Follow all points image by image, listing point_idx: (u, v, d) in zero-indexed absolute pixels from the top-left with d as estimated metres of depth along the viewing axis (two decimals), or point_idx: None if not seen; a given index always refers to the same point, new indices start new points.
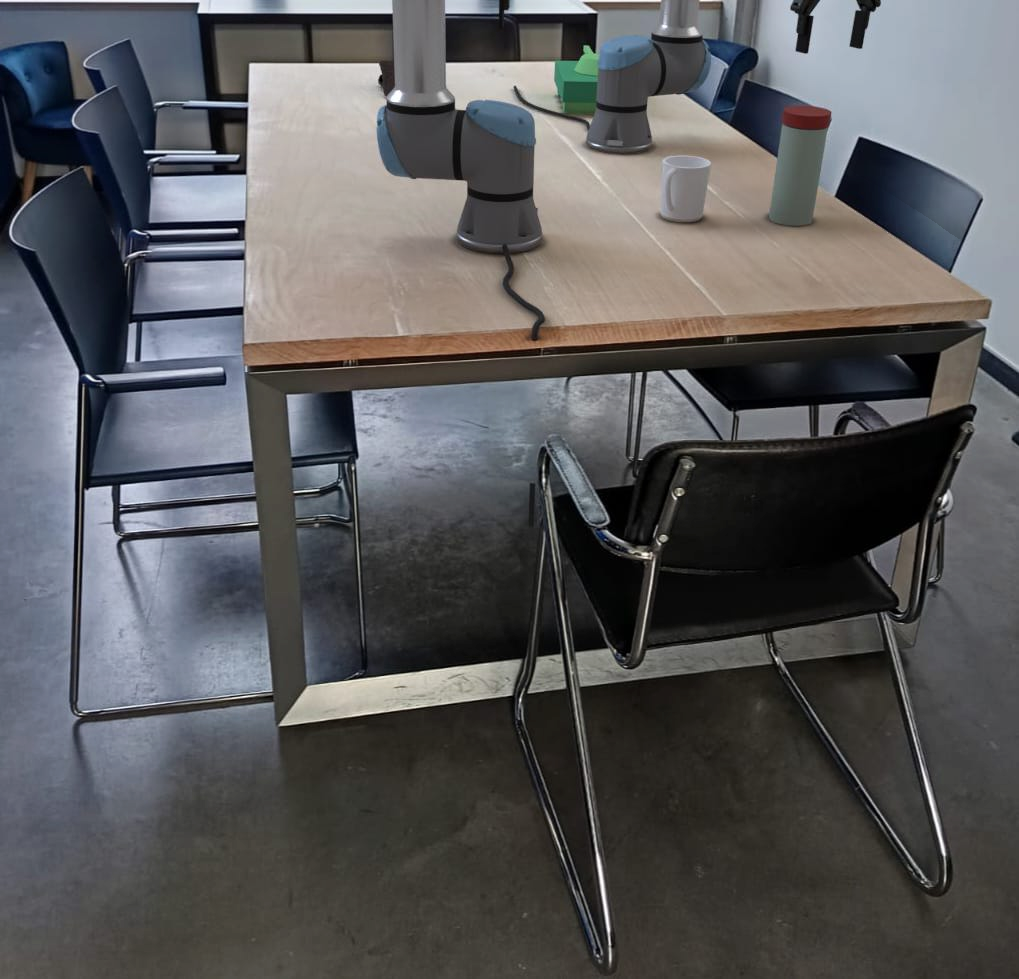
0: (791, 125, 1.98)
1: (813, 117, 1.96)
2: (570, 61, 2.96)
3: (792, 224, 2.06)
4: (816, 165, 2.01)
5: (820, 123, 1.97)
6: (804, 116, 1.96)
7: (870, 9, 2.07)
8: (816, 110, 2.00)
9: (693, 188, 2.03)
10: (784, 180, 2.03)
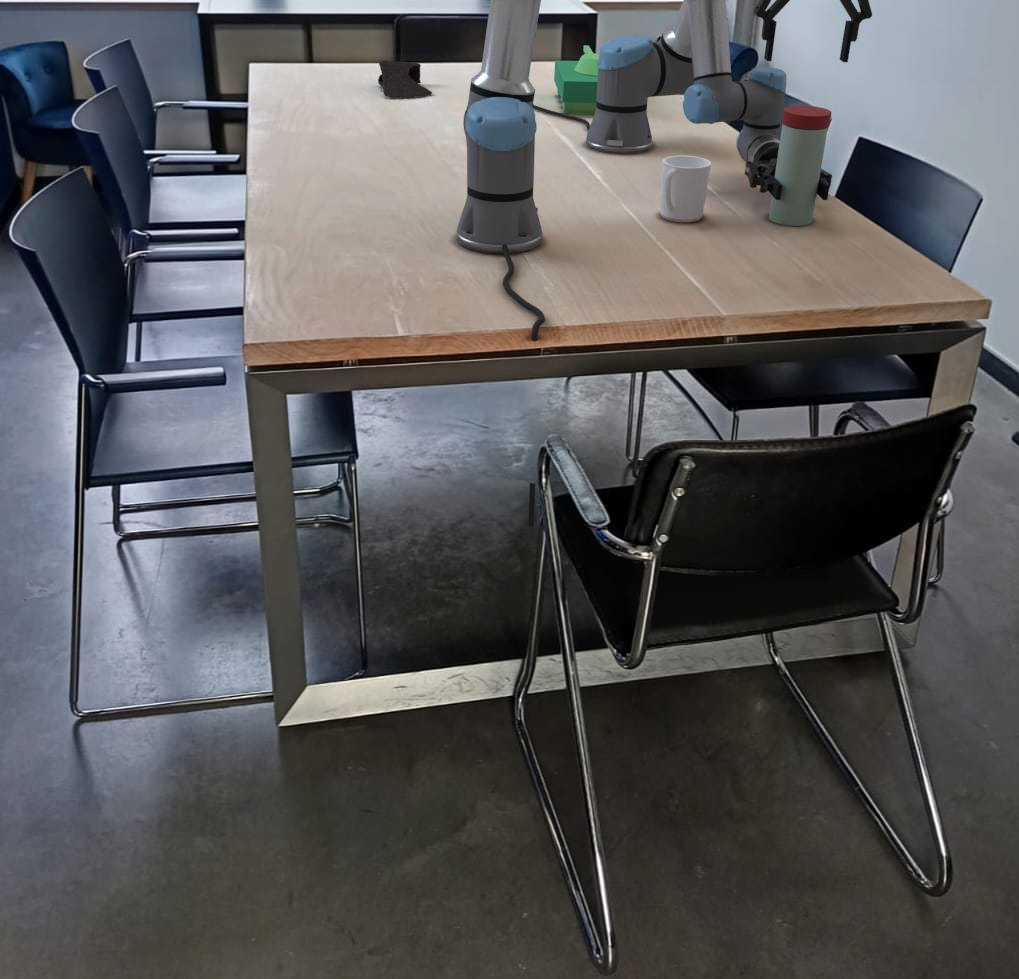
0: (791, 125, 1.98)
1: (813, 117, 1.96)
2: (570, 61, 2.96)
3: (792, 224, 2.06)
4: (816, 165, 2.01)
5: (820, 124, 1.97)
6: (804, 116, 1.96)
7: None
8: (816, 110, 2.00)
9: (693, 188, 2.03)
10: (784, 180, 2.03)
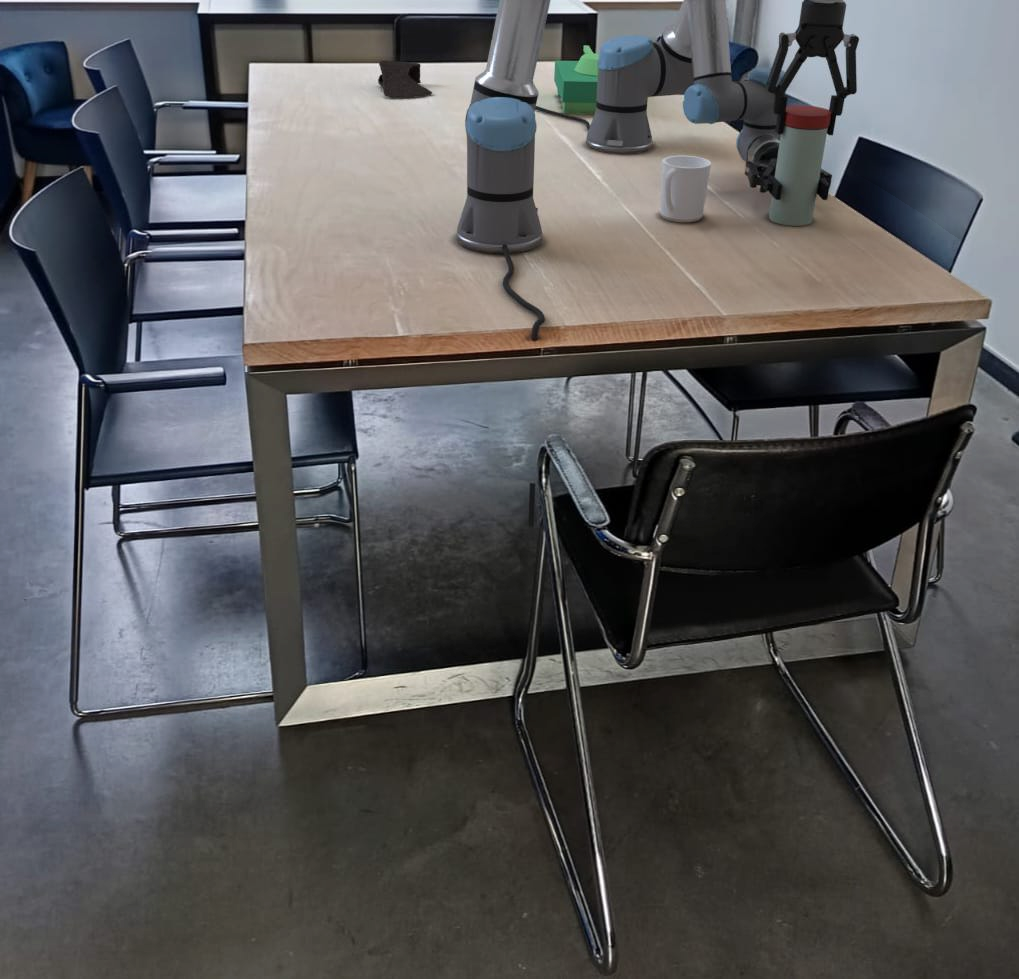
0: (791, 125, 1.98)
1: (813, 117, 1.96)
2: (570, 61, 2.96)
3: (792, 224, 2.06)
4: (816, 165, 2.01)
5: (820, 123, 1.97)
6: (804, 116, 1.96)
7: None
8: (816, 110, 2.00)
9: (693, 188, 2.03)
10: (784, 180, 2.03)
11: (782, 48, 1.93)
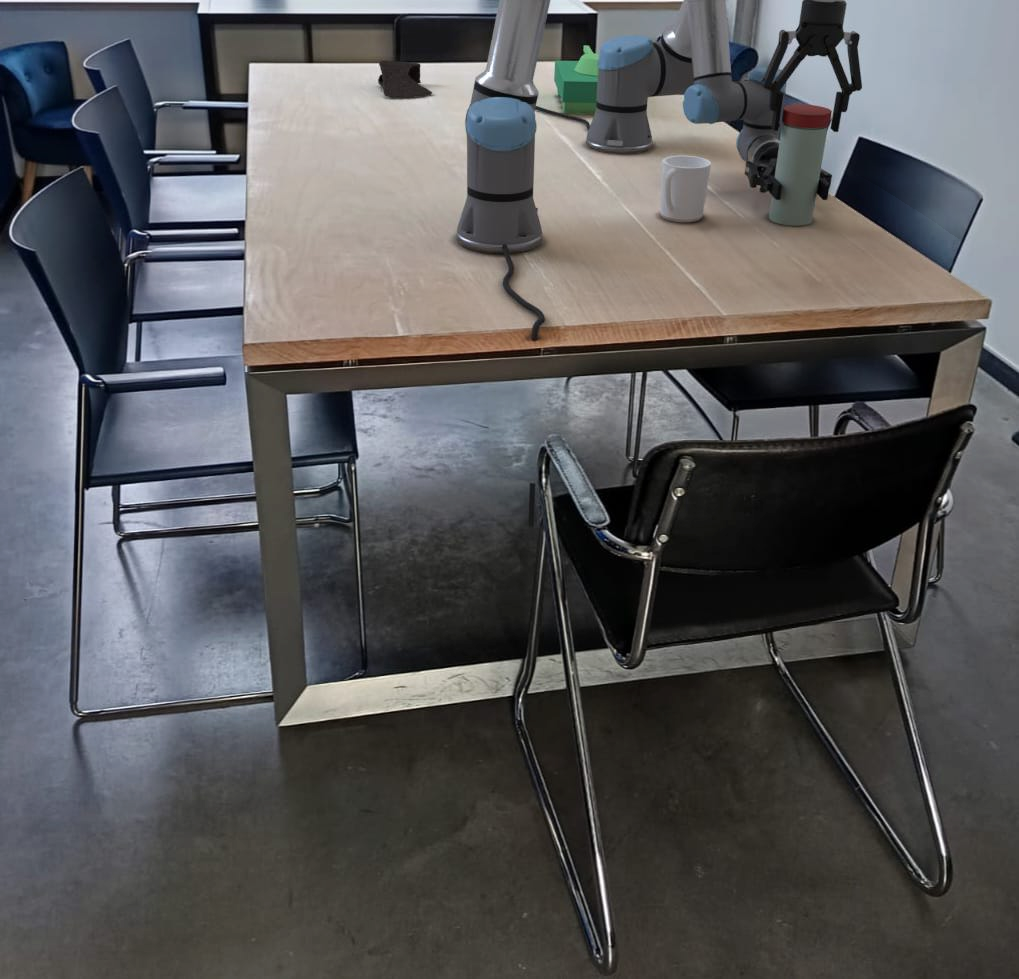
0: (820, 126, 1.97)
1: (831, 112, 1.98)
2: (570, 61, 2.96)
3: (792, 224, 2.06)
4: (816, 165, 2.01)
5: None
6: (829, 114, 1.97)
7: None
8: (806, 107, 2.01)
9: (693, 188, 2.03)
10: (784, 180, 2.03)
11: (782, 45, 1.92)
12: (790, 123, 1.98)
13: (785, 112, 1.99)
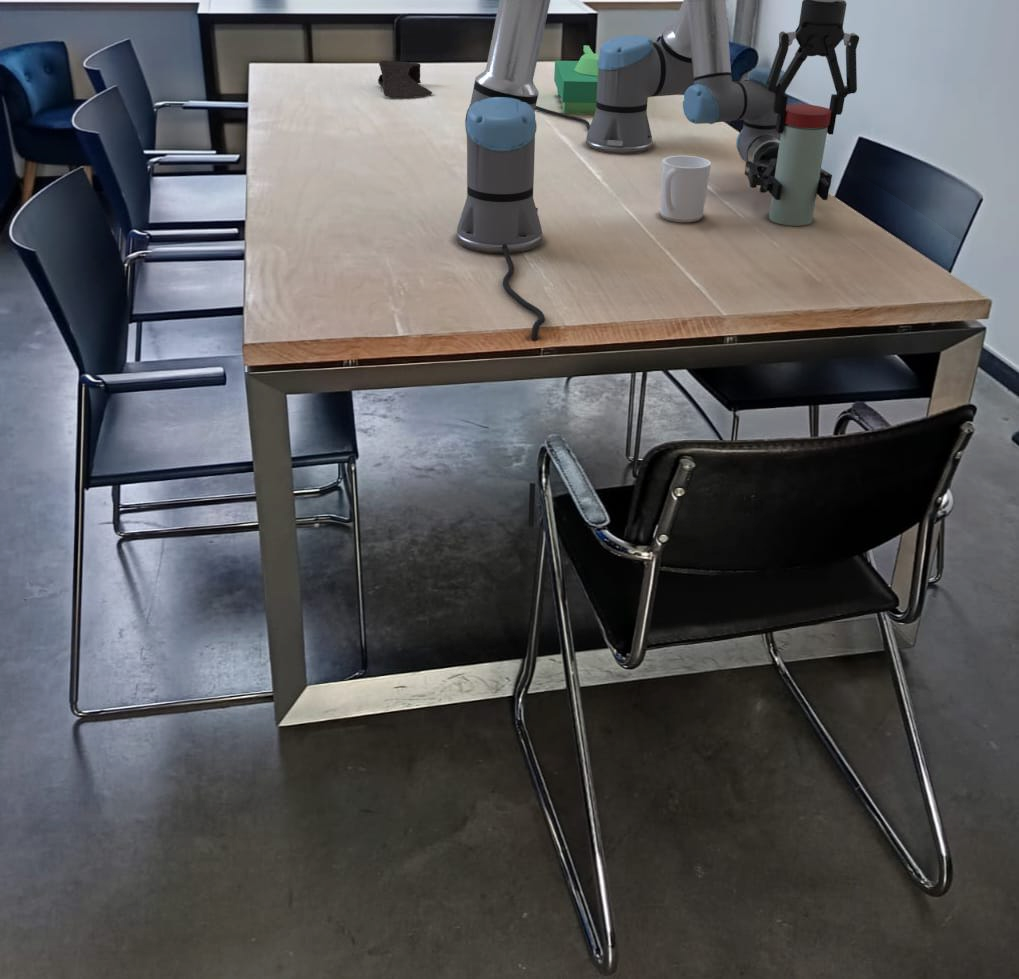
0: (820, 126, 1.97)
1: (831, 112, 1.98)
2: (570, 61, 2.96)
3: (792, 224, 2.06)
4: (816, 165, 2.01)
5: None
6: (829, 114, 1.97)
7: None
8: (806, 107, 2.01)
9: (693, 188, 2.03)
10: (784, 180, 2.03)
11: (782, 47, 1.93)
12: (790, 123, 1.98)
13: (785, 112, 1.99)
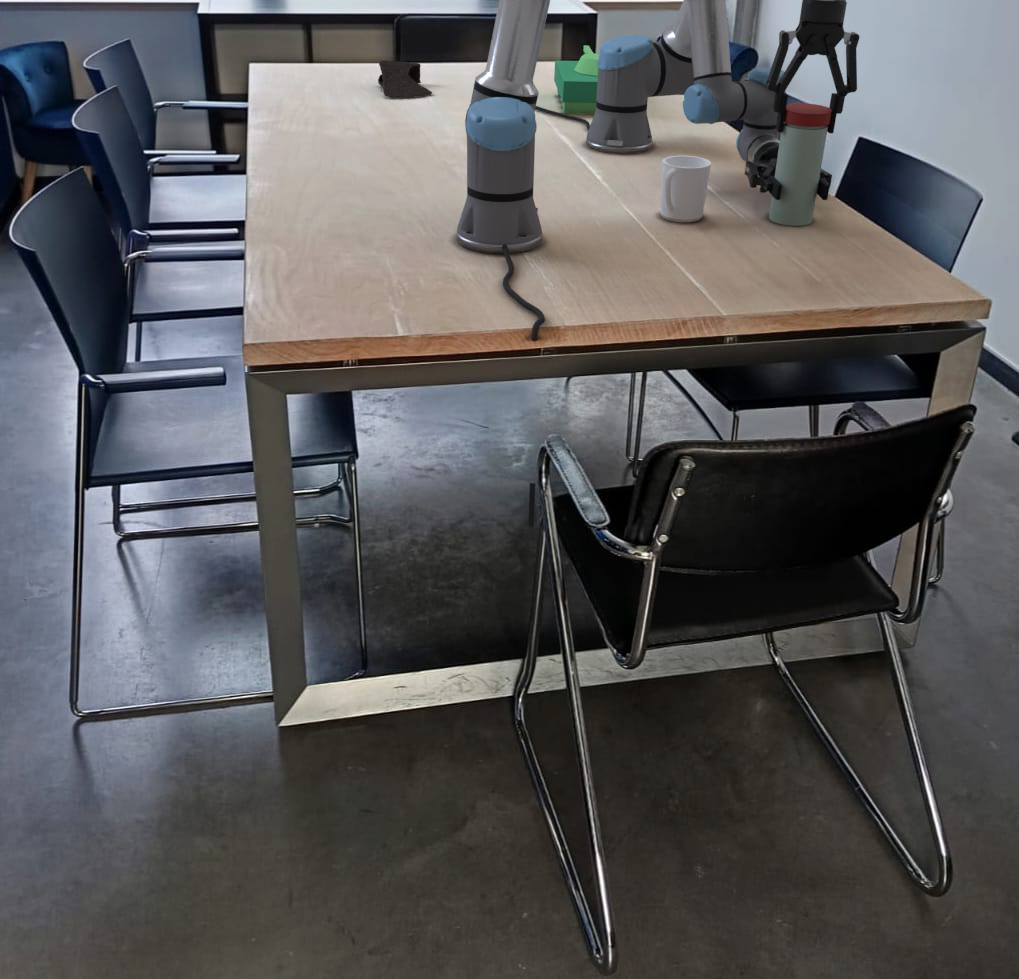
0: None
1: None
2: (570, 61, 2.96)
3: (792, 224, 2.06)
4: (816, 165, 2.01)
5: None
6: None
7: None
8: (797, 107, 2.00)
9: (693, 188, 2.03)
10: (784, 180, 2.03)
11: (782, 46, 1.92)
12: (819, 124, 1.97)
13: (811, 116, 1.96)
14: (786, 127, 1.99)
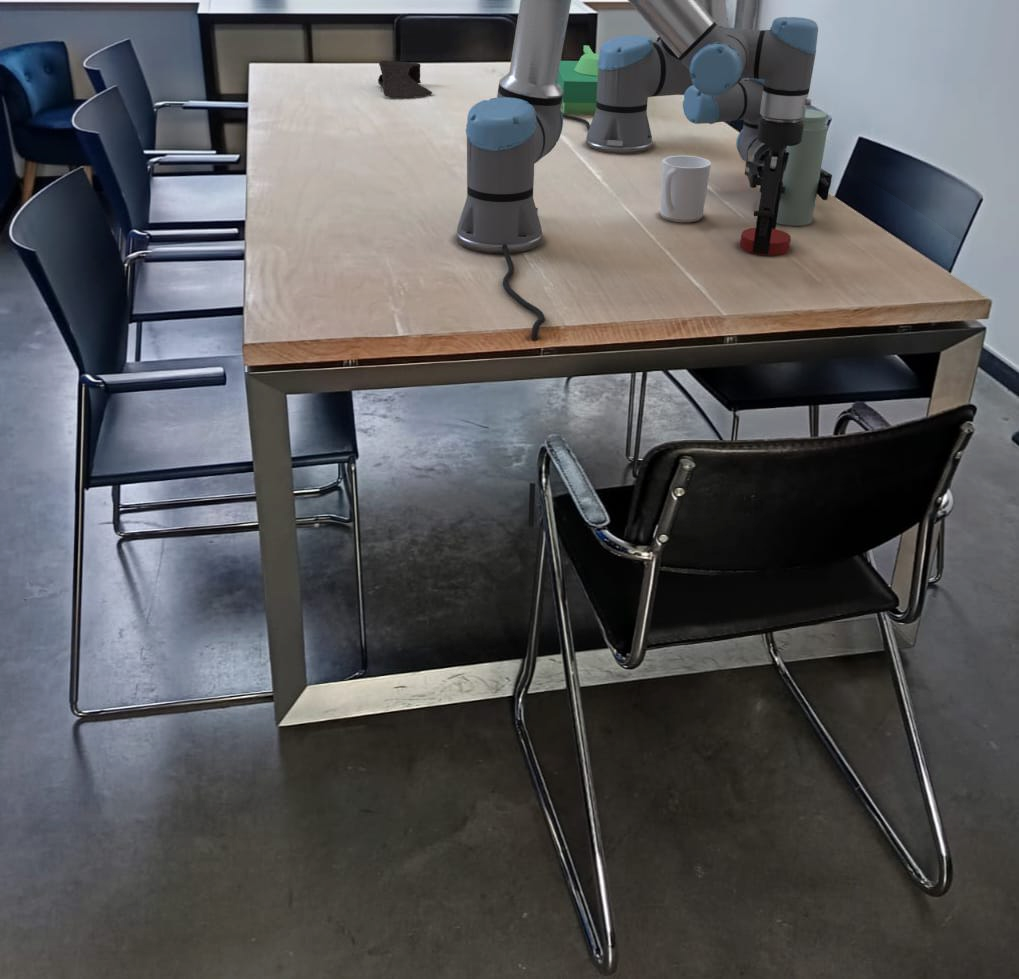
0: None
1: None
2: (570, 61, 2.96)
3: (792, 224, 2.06)
4: (816, 165, 2.01)
5: None
6: None
7: None
8: None
9: (693, 188, 2.03)
10: (784, 180, 2.03)
11: (779, 170, 1.82)
12: None
13: None
14: None
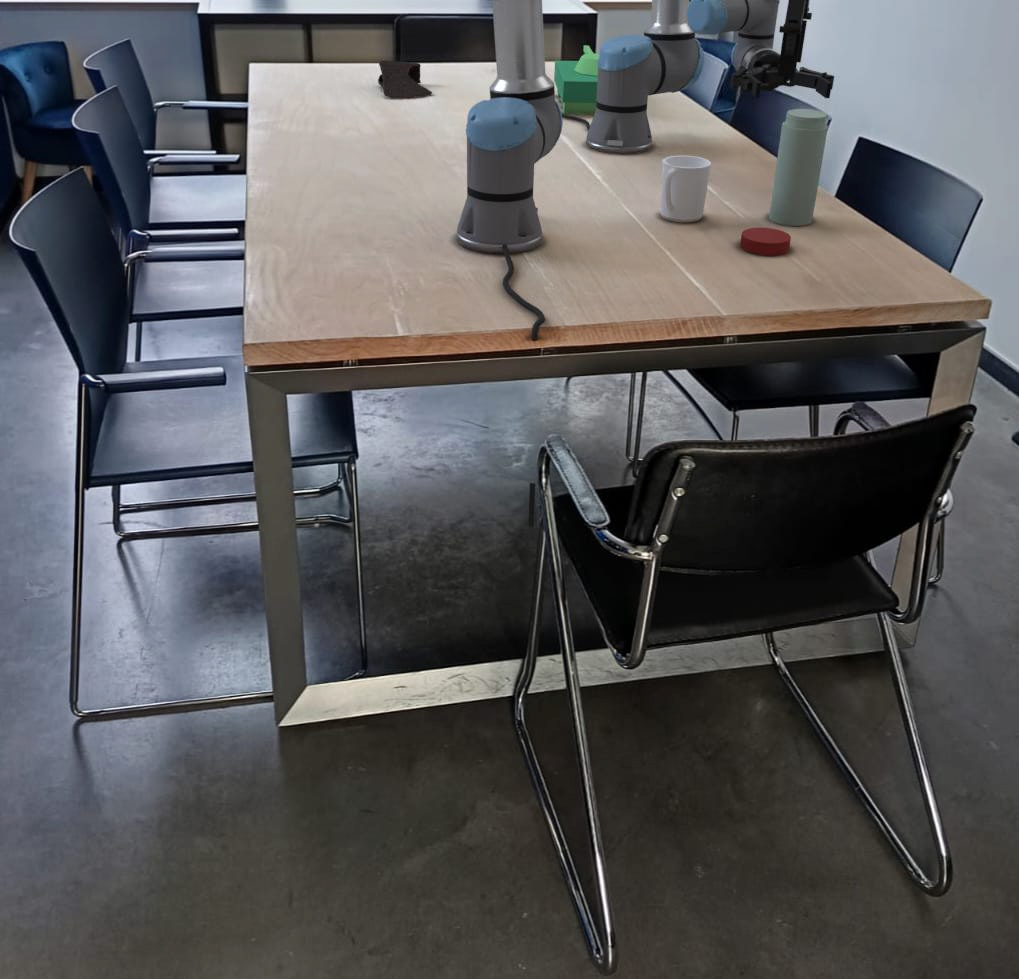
0: None
1: None
2: (570, 61, 2.96)
3: (792, 224, 2.06)
4: (816, 165, 2.01)
5: None
6: None
7: None
8: (761, 237, 1.93)
9: (693, 188, 2.03)
10: (784, 180, 2.03)
11: None
12: None
13: None
14: (786, 127, 1.99)
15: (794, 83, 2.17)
